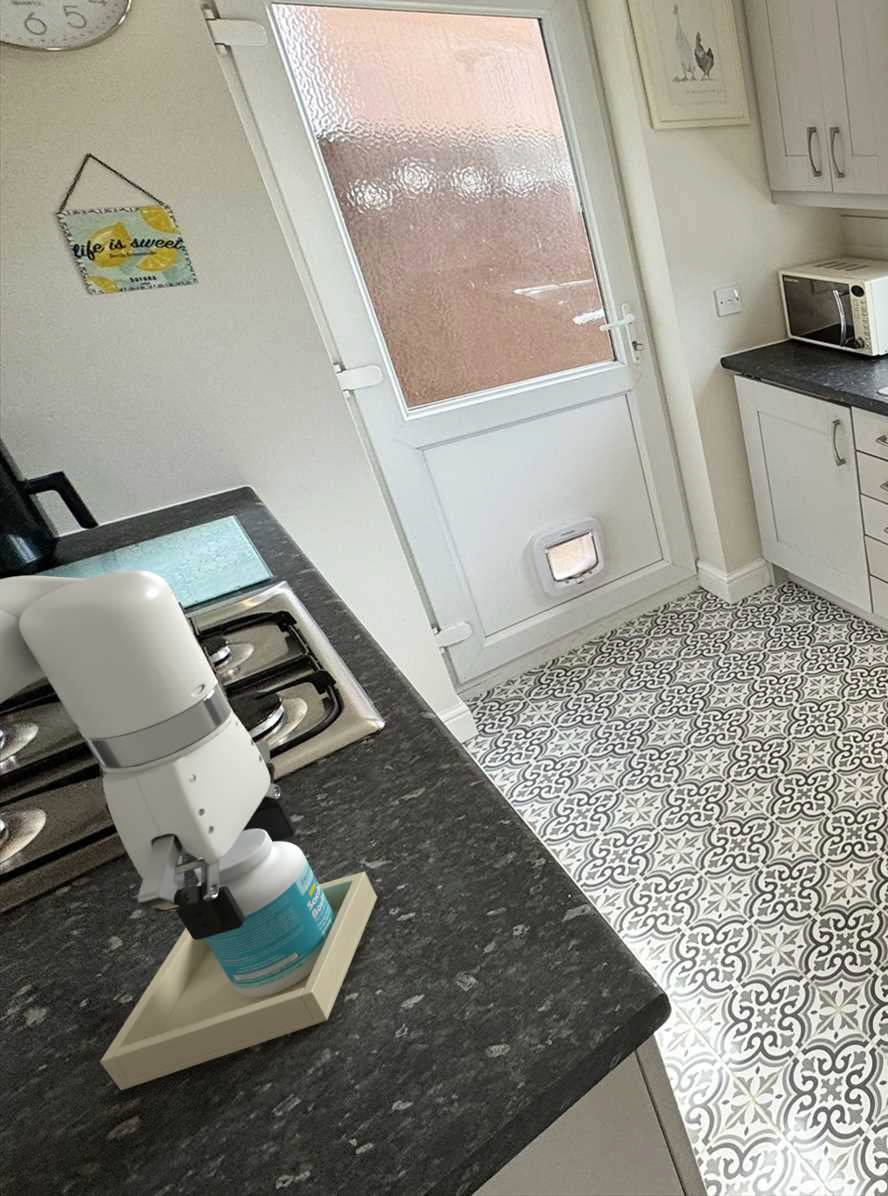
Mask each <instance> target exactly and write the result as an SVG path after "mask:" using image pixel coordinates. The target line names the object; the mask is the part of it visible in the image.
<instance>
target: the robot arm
mask: <svg viewBox="0 0 888 1196" xmlns="http://www.w3.org/2000/svg"><path fill="white" fill-rule="evenodd" d="M45 677H46V678H47V680H48V682H49V683H50V685H51V687H52V688H53V690H54V692H55V694H56V695H57V697H58V698H59V701H60V702H61V704H62V705H63V707H64V708H65V710H66V713H68V715H69V717H70V719H71V720H72V721H73V724H74V726H75V727H76V728H77V730H78V732H79V733H80V735H81V737H82V739H83V740H84V742H85V744H86V746H87V747H88V748H89V750H90V752H91V753H92V756H93V757H94V758H95V760H96V762H97V763H98V764H99V766H100V768H101V769H102V771H103V772H104V773H105V775H103V778H102V780H101V781H102V786H103V792H104V797H105V799H106V804H107V808H108V810H109V813H110V816H111V819H112V822H113V823H114V824H113V825H114V826H115V829H116V831H117V834H118V836H119V838H120V840H121V842H122V845H123V846H124V849H125V850H126V852H127V854H128V856H129V858H130V860H131V862H132V864H133V866H134V868H135V869H136V871H137V873H138V874H139V876H140V877H141V878H142V880H141V885H140V887H139V888H140V889H139V890H138V891H139V892H138V895H137V902H138V904H139V905H142V906H145V907H148V908H151V909H154V911H155V912H157V913H162V912H168V913H170V912H173V911H175V912H176V914H177V915H178V917H179V919H180V920H181V922H182V924H183V925H184V927H185V928H187V930H188V932H189V933H190V935H191V937H192V938H193V939H195V940H200V939H203V938H207V937H210V936H213V935H217V934H220V933H224V932H227V931H230V930H234V929H237V928H240V927H241V926H242V924H243V923H244V921H245V917H244V915H243V913H242V911H241V909H240V908H239V906H238V904H237V902H236V901H235V899H234V897H233V895H232V894H231V892H230V890H229V888H228V887H227V886H225V887H220V888H219V860H220V859H221V858H222V857H223V856H224V855H225V854H226V853H227V852H228V851H229V850H230V848H231V847H232V845H233V844H234V843H235V841H236V840H237V838H238V837H239V835H240V834H241V832H242V831H245V830H249V829H263V830H265V831H266V832H267V833H268V835H269V837H270V839H271V840H272V842H278V841H280V842H281V841H283V840H287V839H290V838H292V837H293V836H294V835H295V833H296V831H297V829H296V826H295V824H294V823H293V820H292V818H291V816H290V815H289V812H288V810H287V809H286V807H285V804H284V803H283V801H282V798H280V796H281V792H282V791H281V790H282V789H281V786H280V785H278V784H276V783H275V772H276V768H275V767H276V766H275V764H273V763H272V762H270V761H272V760H271V752H270V744H269V741H268V740H266V739H264V740H260V741H256V742H254V740H253V738H252V736H251V735H250V733H249V732H248V730H247V729H246V728H245V727H246V726H244V725H243V723H242V722H241V720H240V719H239V717H238V716H237V715H236V714H235V712H234V711H233V708H232V707H231V705H230V702H229V701H228V699H227V696H226V695H225V693H224V691H223V688H222V686H221V684H220V683H219V680H218V679H217V677H216V675H215V673H214V671H213V669H212V666H211V665H210V663H209V661H208V659H207V657H206V655H205V653H204V651H203V649H202V646H201V645H200V643H199V641H198V639H197V638H196V636H195V633H194V631H193V630H192V627H191V626H190V624H189V621H188V619H187V617H186V616H185V613H184V612H183V610H182V607H181V606H180V604H179V602H178V600H177V597H176V595H175V594H174V592H173V590H172V588H171V587H170V585H169V583H168V582H167V581H166V580H165V579H164V578H163V577H162V576H160V575H158V574H156V573H153V572H151V571H145V570H123V571H122V570H121V571H115V572H110V573H105V574H100V575H95V576H93V577H89V578H88V577H86V578H85V577H68V576H67V577H65V576H53V575H52V576H49V575H18V576H10V577H5V578H0V704H2V703H4V702H5V701H7V700H8V699H10V698H11V697H13V696H14V695H15V694H18V693H19V692H20V691H22V690H23V689H24V688H26V687H27V686H30V685H32V684H33V683H35V682H38V681H39V680H42V679H43V678H45ZM279 798H280V799H279ZM184 855H185V856H186V855H190V856H192V857H194V858H196V859H197V860H193V861H189V862H185V863H183V856H184ZM201 857H203V859H199V858H201ZM198 859H199V860H198ZM197 868H201V886H197V885H193V886H186V887H185V873H186V872H190V871H194V869H197Z"/></svg>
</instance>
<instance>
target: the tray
mask: <svg viewBox="0 0 888 1196" xmlns="http://www.w3.org/2000/svg"><path fill="white" fill-rule="evenodd" d="M319 886H320V888H321V889H322V891H323V893H324V895H325V897H326V899H327V901H328V903H329V905H330V907H331V909H332V911H333V913H334V915H335V917H336V919H335V921H334V923H333V925H332V928H331V930H330V932H329V934H328V937H327V939H326V941H325V943H324V945H323V948H322V950H321V952H320V954H319V957H318V959H317V961H316V963H315V965H314V968H313V970H312V972H311V974H309V975H308V976H307V977H305V978H304V979H302V980H301V981H299V982H298V983H296V984H294V985H292V986H291V987H289V988H287V989H285V990H282V991H280V992H277V993H274V994H271V995H268V996H263V997H246V996H243V995H241V994H240V993H238V992H237V991H236V989H235V988H234V986H233V985H232V983H231V981H230V980H229V978H228V976H227V975H226V973H225V972H224V970H223V968H222V967H221V965H220V963H219V962H218V960H217V958H216V957H215V955H214V953H213V951H212V950H211V948H210V946H209V945H208V943H207V942H206V940H205V938H203V939H200V940H195V939H193V938H192V937H191V935H190V933H189V932H188V930H187V928H186V927H185V928H184V929H183V931H182V933H181V934H180V936H179V938H178V939H177V941H176V942H175V944H174V946H173V947H172V949H171V950H170V952H169V953H168V955H167V956H166V958H165V960H164V961H163V962H162V964H161V966H160V968H158V970H157V972H156V974H155V975H154V977H153V978H152V980H151V981H150V982H149V985H148V986H147V987H146V989H145V991H143V994H142V995H141V997H140V999H139V1001H137V1003H136V1005H135V1006H134V1008H133V1009H132V1011H131V1012H130V1014H129V1015H128V1017H127V1019H126V1020H125V1022H124V1024H123V1025H122V1026H121V1028H120V1030H119V1031H118V1033H117V1035H116V1036H115V1038H114V1039H113V1040H112V1042H111V1044H110V1045H109V1047H108V1049H107V1050H106V1052H104V1055H103V1056H102V1058H101V1059H100V1064H101V1065H102V1067H103V1068H104V1069H105V1071H106V1072H107V1073H108V1074H109V1076H110V1077H111V1079H112V1080H113V1082H114V1083H115V1084H116V1085H117V1087H118V1088H119V1089H120V1091H123V1090H126V1089H129V1088H132V1087H135V1086H138V1085H141V1084H144V1083H147V1082H150V1081H153V1080H156V1079H159V1078H162V1077H165V1076H167V1075H170V1074H174V1073H177V1072H179V1071H182V1070H185V1069H189V1068H191V1067H195V1066H198V1065H200V1064H203V1063H206V1062H209V1061H212V1060H214V1059H218V1058H220V1057H224V1056H226V1055H229V1054H232V1053H235V1052H238V1051H241V1050H244V1049H247V1048H250V1047H253V1046H256V1045H259V1044H261V1043H265V1042H267V1041H268V1042H269V1041H271V1040H273V1039H277V1038H280V1037H283V1036H286V1035H288V1034H291V1033H295V1032H297V1031H300V1030H303V1029H306V1028H308V1027H311V1026H315V1025H318V1024H321V1023H324V1022H326V1021H328V1020H329V1017H330V1014H331V1012H332V1009H333V1008H334V1005H335V1002H336V999H337V997H338V995H339V992H340V989H341V987H342V985H343V982H344V980H345V978H346V975H347V973H348V970H349V968H350V965H351V963H352V960H353V958H354V956H355V953H356V950H357V948H358V946H359V942H360V941H361V939H362V936H363V933H364V931H365V929H366V926H367V923H368V921H369V919H370V916H371V914H372V911H373V909H374V906H375V904H376V901H377V899H378V896H377V894H376V891H375V890H374V888H373V886H372V883H371V882H370V879H369V877H368V875H367V873H366V871H362V872H358V873H355V874H350V875H348V876H344V877H341V878H338V879H334V880H331V881H327V882H323V883H321V884H320V883H319Z"/></svg>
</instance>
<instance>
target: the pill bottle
mask: <svg viewBox="0 0 888 1196" xmlns="http://www.w3.org/2000/svg"><path fill="white" fill-rule="evenodd" d="M199 859H203V857H201V858H197V860H199ZM193 871H194V874H195V876H196V878H197V880H198V883H197V884H196V886H201V868H197V869H194V870H193ZM319 885H320V883H319V882H318V880H317V878H316V876H315V873H314V872H313V870H312V868H311V866H310V864H309V862H308V860H307V858H306V856H305V854H304V852H303V850H302V849H301V848H300V847H299V846H298V845H296V844H293V843H291V842H288V841H281V840H280V841H276V842H272V840H271V839H270V837H269V835H268V833H267V832H266V831H265V830H263V829H249V830H245V831H242V832H241V834H240V835H239V837H238V838H237V840H236V841H235V843H234V844H233V845H232V847H231V848H230V850H229V851H228V852H227V853H226V854H225V855H224V856H223V857H222V858H221V859H220V860H219V888H220V887H225V886H227V887H228V888H229V890H230V892H231V894H232V895H233V897H234V899H235V901H236V902H237V904H238V906H239V908H240V909H241V911H242V913H243V915H244V917H245V921H244V923H243V924H242V926H241V927H240V928H237V929H234V930H230V931H227V932H224V933H220V934H217V935H213V936H210V937H207V938H205V940H206V942H207V943H208V945H209V946H210V948H211V950H212V951H213V953H214V955H215V957H216V958H217V960H218V962H219V963H220V965H221V967H222V968H223V970H224V972H225V973H226V975H227V976H228V978H229V980H230V981H231V983H232V985H233V986H234V988H235V989H236V991H237V992H238V993H240V994H241V995H243V996H246V997H263V996H268V995H271V994H274V993H277V992H280V991H282V990H285V989H287V988H289V987H291V986H292V985H294V984H296V983H298V982H299V981H301V980H302V979H304V978H305V977H307V976H308V975H309V974H311V972H312V970H313V968H314V965H315V963H316V961H317V959H318V957H319V954H320V952H321V950H322V948H323V945H324V943H325V941H326V939H327V937H328V934H329V932H330V930H331V928H332V925H333V923H334V921H335V919H336V917H335V915H334V913H333V911H332V909H331V907H330V905H329V903H328V901H327V899H326V897H325V895H324V893H323V891H322V889H321V888H320V886H319Z"/></svg>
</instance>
